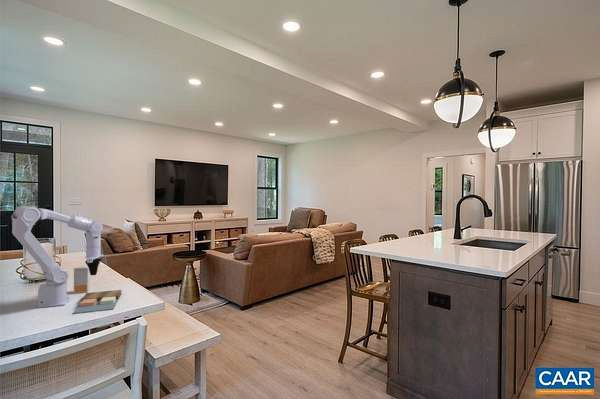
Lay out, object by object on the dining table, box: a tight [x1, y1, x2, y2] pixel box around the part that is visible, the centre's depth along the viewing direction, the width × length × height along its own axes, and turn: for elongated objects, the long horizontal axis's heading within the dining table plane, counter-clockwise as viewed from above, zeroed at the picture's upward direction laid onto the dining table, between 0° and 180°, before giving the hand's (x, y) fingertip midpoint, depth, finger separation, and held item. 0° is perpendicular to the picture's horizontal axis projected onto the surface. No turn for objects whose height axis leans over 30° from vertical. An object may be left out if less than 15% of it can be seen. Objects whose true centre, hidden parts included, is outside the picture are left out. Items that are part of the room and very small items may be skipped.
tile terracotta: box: [79, 298, 97, 307], centre depth 133 cm, size 5×5×2 cm
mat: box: [72, 299, 119, 315], centre depth 132 cm, size 14×12×1 cm
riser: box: [80, 289, 122, 303], centre depth 142 cm, size 14×9×2 cm, turn 112°
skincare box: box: [73, 265, 92, 294], centre depth 151 cm, size 6×4×12 cm
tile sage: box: [100, 296, 116, 305], centre depth 136 cm, size 5×5×2 cm
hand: (93, 274), depth 147 cm, fingers closed
